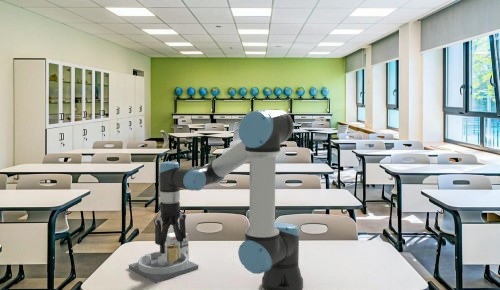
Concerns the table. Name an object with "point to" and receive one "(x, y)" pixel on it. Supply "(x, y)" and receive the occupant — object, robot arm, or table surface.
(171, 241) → the ink box
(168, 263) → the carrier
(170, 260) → the tan hollow cylinder
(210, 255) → the table surface
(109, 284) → the table surface
